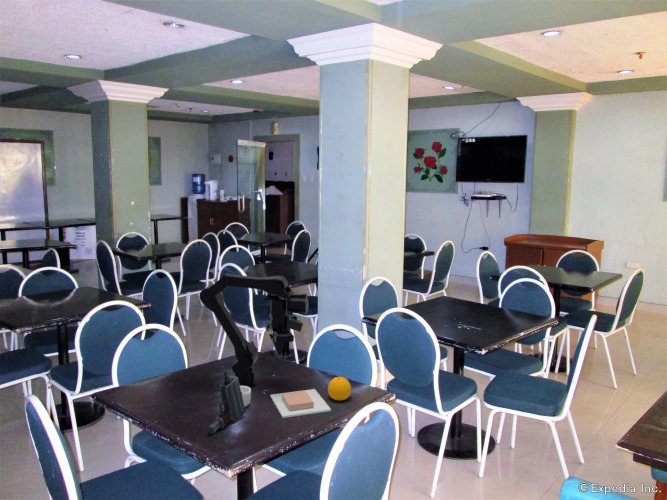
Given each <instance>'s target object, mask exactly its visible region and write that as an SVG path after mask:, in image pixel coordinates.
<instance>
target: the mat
mask: <svg viewBox="0 0 667 500" xmlns="http://www.w3.org/2000/svg"><path fill="white" fill-rule="evenodd" d="M299 391H300V390H297V391H295V392H299ZM302 391H306V393H307V394H308V395H309V397H310V398H311V399H312V401H313V402H314V408H310V409H303V410H296V411H289V409H288V408H287V406H286V405H285V403H284V401H283V400H282V394H284V393H285V392H282V393H273V394H270V395H269V396H270V399H271V400H272V403H273V404H274V406H275V408H276V409H277V410H278V413H279V414H280V416H281V418H282V419H287V418H291V417H300V416H301V417H302V416H306V415H307V416H308V415H313V414H314V415H315V414H321V413H327V412H332V409H331V407H330V406H329V405H328V404H327V402H326V401H325V400H324V399H323V397H322V396H321V395H320V393H319V392H318V391H317V390H316V388H312V389H306V390H305V389H304V390H302ZM291 392H292V391H288V392H287V393H291Z"/></svg>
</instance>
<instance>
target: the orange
mask: <svg viewBox="0 0 667 500" xmlns="http://www.w3.org/2000/svg"><path fill="white" fill-rule="evenodd" d="M327 393H328V395H329V397H330V398H331V399H333V400H334V401H345V400H348V398H349V397H350V396H351V393H352V385H351V383H350V382H349V380H348V379H347V378H346V377H344V376H336V377H333V378H332V379H331V380H330V381H329V384H328V386H327Z"/></svg>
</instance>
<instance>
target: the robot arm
mask: <svg viewBox="0 0 667 500" xmlns="http://www.w3.org/2000/svg"><path fill="white" fill-rule="evenodd" d="M228 287H236V288H245V289H252V290H253V289H255V290H260V291H263V292H265V293H268V294H267V296H266V297H264V300H265V301H270V313H269V314H268V315H269V318H270V321H267V322H266V323H265V328H264V329H265V331H266V332H269V330H270V331H271V333H268V334H269V335H268V336H269V338H270V340H271V344H273V347H274V349H275V352H276V354H277V356H282V352H283V349H284V346H285V343H293V342H294V341H295V336H294V335H293V333H292V332H291V330H294V331H297V332H299V333H301V331H302V329H303V326H304V323H303V322H302V321H301V320H299V319H298V317H297V316H296V315H294V314H308V312H309V299H308V293H294V291H293V289H292V288H291V287H290V285H289V282H288V280H287V278H286V277H285V276H283V275H274V276H265V277H258V276H251V275H249V276H248V275H242V274H233V273H225V274H224V275H221V278H218V280H217V281H216V282H214V283H213V284H212V285H208V286H207V287H205V288H203V289H201V291H200V293H199V299H200V302H201V303H202V305H204V306H205V308H206V309H208V310H209V311H211V312H212V313H213V315H215V318H216V319H217V321H218V322H219V324H220V326H221V327H222V329H223V330H224V332H225V334H226V336H227V337H228V339H229V341H230V343H231V344H232V345H233V348H234V354H235V357H236V360H237V361H236V362H235V363H234V364H233V365H232V366H231V370H232V372H233V376H235V377H238V380H239V385H240V386H247V387H249V388H250V389H251V388H255V387H254V386H255V385H254V384H255V373H254V371H253V368H252V366H253V365H254V364H255V363H256V361H258V358H259V352H258V351H259V348H257V346H256V344H255V342H254V341H253V340H250V341H249V340H247V339H246V338H245V337H244V335H243V333H242V332H241V330H240V328H239V327H238V325H237V323H236V322H235V320H234V319H233V317H232V315H231V314H230V312H229V310H228V308H227V307H226V306H225V298H224V295H223V292H224V291H225V290H226V289H227V288H228ZM288 312H290V313H293V314H292V315H291V316H289V315H288Z"/></svg>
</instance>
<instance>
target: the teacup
mask: <svg viewBox="0 0 667 500" xmlns="http://www.w3.org/2000/svg"><path fill="white" fill-rule="evenodd" d="M240 389H241V392H242V398H243V403H244V407H245V408H246V407H247V406H248V405H249V404H250V402H251V398H252V388H251V387H250V388H249V387H247V386H240Z"/></svg>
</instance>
